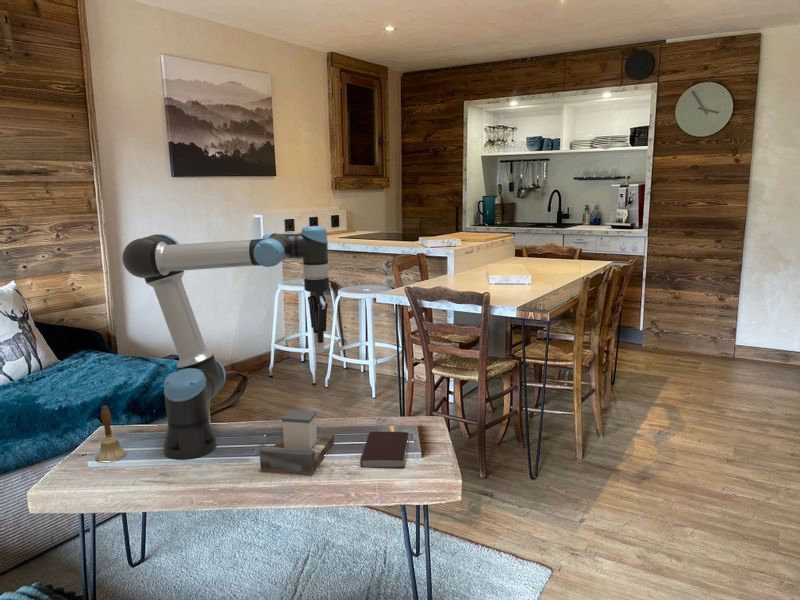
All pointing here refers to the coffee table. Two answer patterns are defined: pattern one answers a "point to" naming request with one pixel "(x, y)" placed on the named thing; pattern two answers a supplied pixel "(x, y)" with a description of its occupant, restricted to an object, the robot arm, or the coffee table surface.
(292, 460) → the dark open tray
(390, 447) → the book
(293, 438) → the beige upright block
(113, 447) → the hand bell
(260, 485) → the coffee table surface
